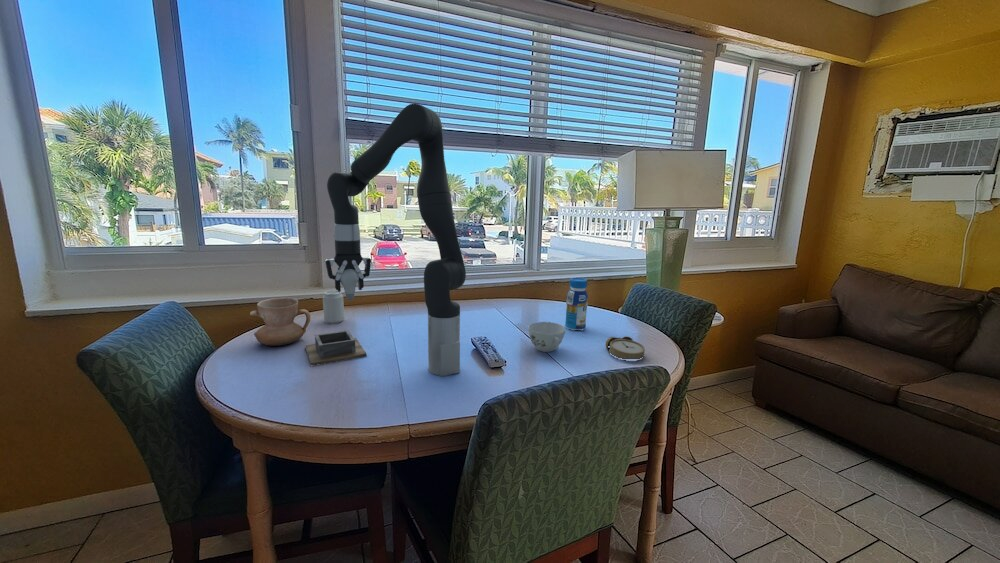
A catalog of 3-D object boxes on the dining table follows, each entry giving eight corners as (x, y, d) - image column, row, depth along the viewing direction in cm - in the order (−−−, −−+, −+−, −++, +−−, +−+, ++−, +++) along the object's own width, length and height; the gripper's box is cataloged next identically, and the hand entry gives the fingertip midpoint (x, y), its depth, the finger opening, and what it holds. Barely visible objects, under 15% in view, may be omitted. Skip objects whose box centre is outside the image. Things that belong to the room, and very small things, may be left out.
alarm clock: (620, 355, 127) (600, 331, 141) (617, 368, 129) (598, 343, 143) (652, 353, 130) (629, 330, 143) (648, 366, 132) (627, 342, 145)
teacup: (521, 344, 142) (522, 322, 140) (553, 341, 146) (554, 320, 144) (539, 360, 128) (540, 337, 126) (574, 356, 132) (575, 333, 130)
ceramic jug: (246, 351, 128) (243, 309, 125) (258, 335, 142) (255, 297, 139) (308, 347, 134) (306, 306, 131) (313, 333, 147) (312, 295, 144)
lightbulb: (363, 298, 133) (362, 266, 130) (354, 303, 127) (353, 269, 125) (346, 297, 134) (344, 265, 131) (336, 302, 128) (334, 268, 125)
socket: (366, 356, 127) (365, 341, 126) (311, 366, 119) (310, 350, 118) (355, 340, 141) (355, 326, 140) (305, 348, 132) (304, 333, 131)
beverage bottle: (564, 323, 166) (567, 276, 162) (585, 325, 165) (588, 277, 160) (564, 330, 158) (568, 280, 153) (586, 332, 156) (590, 282, 152)
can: (320, 323, 158) (318, 293, 155) (331, 317, 165) (329, 289, 162) (337, 324, 157) (336, 294, 154) (348, 319, 164) (346, 290, 161)
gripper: (324, 240, 119) (327, 295, 123) (373, 239, 126) (375, 291, 130) (321, 237, 126) (324, 289, 129) (368, 236, 132) (370, 286, 136)
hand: (349, 290), depth 129 cm, fingers closed on lightbulb, 6 cm apart
